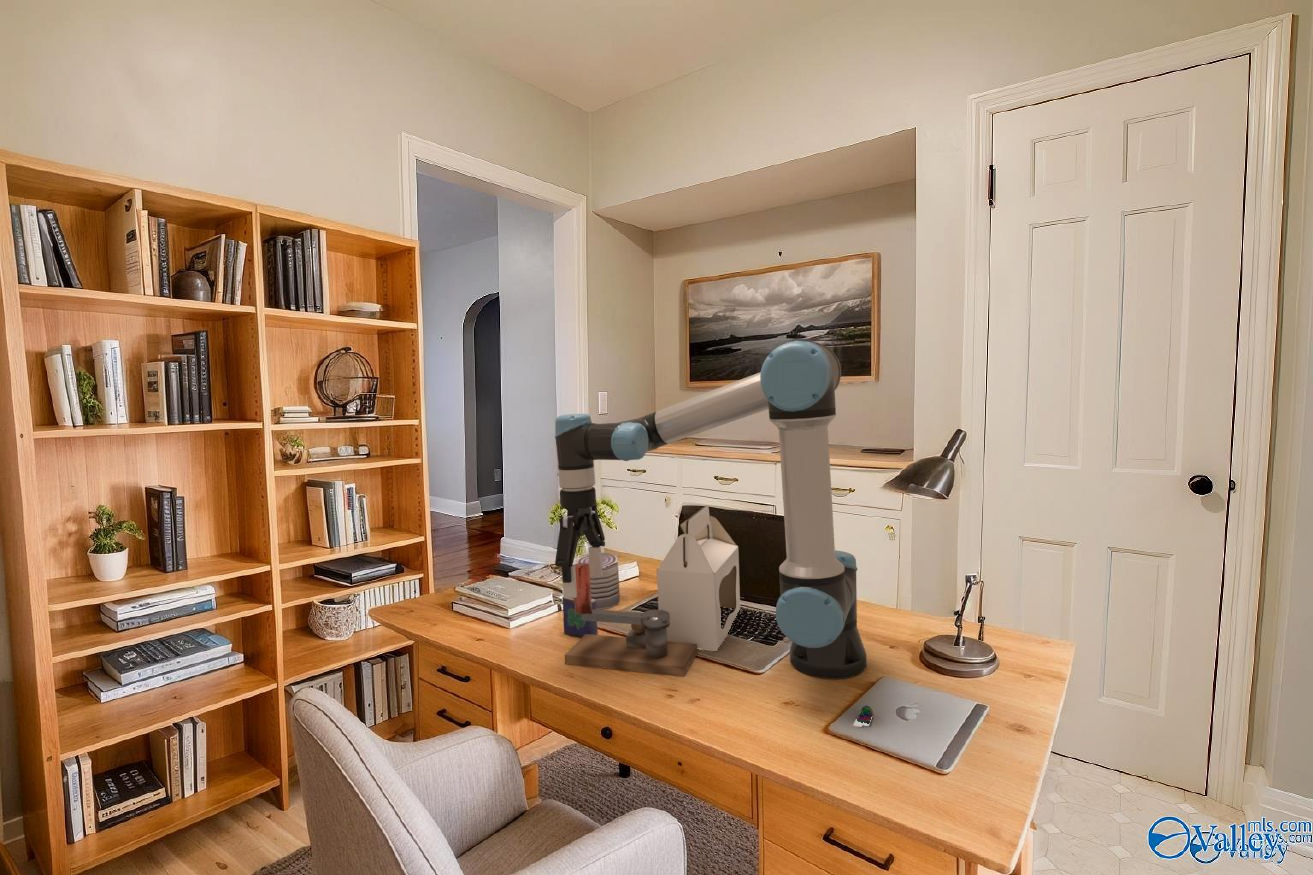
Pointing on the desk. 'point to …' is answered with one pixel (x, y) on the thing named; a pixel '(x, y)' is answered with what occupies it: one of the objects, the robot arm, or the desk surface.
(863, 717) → the green rounded lump
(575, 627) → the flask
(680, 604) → the gable box
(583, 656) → the wooden base plate
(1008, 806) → the desk surface
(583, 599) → the lever
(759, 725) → the desk surface
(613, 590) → the can
